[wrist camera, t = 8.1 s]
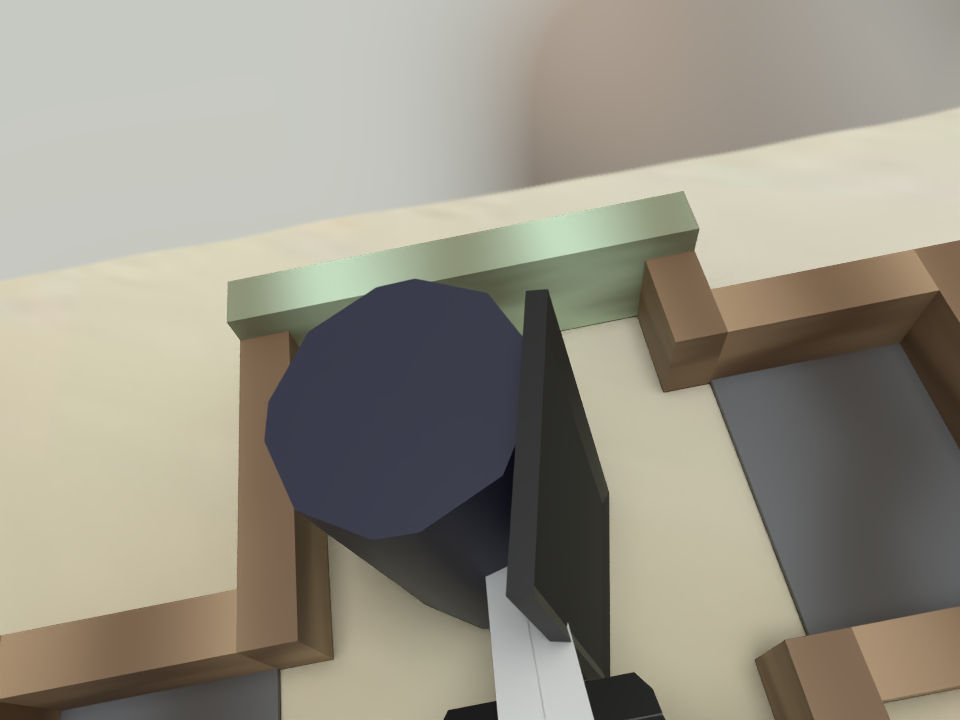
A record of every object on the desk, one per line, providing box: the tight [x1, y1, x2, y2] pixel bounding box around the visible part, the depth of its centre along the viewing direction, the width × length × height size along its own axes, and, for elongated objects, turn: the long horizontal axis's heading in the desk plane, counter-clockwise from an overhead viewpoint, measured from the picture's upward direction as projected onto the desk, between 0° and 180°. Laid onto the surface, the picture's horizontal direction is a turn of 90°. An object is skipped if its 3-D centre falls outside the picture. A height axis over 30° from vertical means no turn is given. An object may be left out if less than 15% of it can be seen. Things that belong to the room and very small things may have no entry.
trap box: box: [0, 191, 960, 720], centre depth 18 cm, size 29×22×4 cm
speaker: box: [264, 279, 610, 681], centre depth 17 cm, size 8×6×10 cm
